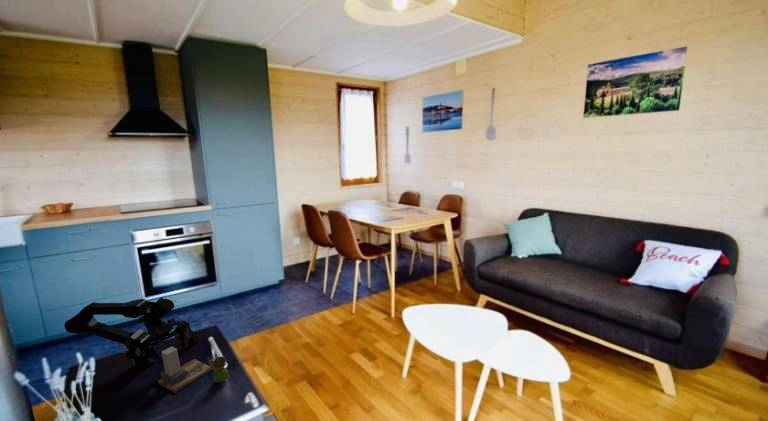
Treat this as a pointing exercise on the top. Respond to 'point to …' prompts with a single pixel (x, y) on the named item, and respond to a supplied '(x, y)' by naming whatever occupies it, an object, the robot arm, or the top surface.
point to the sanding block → (172, 366)
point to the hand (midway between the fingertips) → (173, 356)
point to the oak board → (188, 375)
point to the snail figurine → (219, 369)
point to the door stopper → (190, 334)
